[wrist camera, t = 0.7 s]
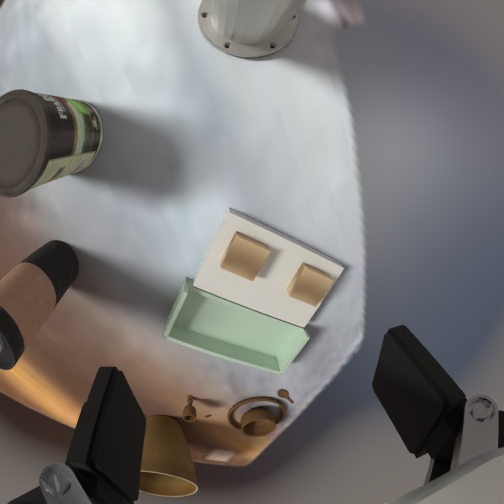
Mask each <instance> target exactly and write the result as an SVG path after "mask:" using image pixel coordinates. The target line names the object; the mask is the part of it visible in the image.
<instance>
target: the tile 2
mask: <svg viewBox="0 0 504 504" xmlns="http://www.w3.org/2000/svg"><path fill="white" fill-rule="evenodd" d="M333 281H334V280H333V279H332V278H331V277H330V275H329V274H327V273H325V272H323V271H321V270H319V269H317V268H315V267H312V266H310V265H308V264H306V263H304V262H303V263H302V264H301V266H300V267H299V269H298V271H297V272H296V274H295V276H294V277H293V279H292V280H291V282H290V284H289V285H288V287H287V288H286V290H287V292H288V294H289V296H290V297H292V298H295V299H297V300H300V301H302V302H305V303H307V304H310V305H312V306H315V307H316V306H317V305H318V303H319V302H320V300H321V299H322V297H323V296H324V294H325V293H326V292H327V290H328V289H329V287H330V285H331V284H332V282H333Z"/></svg>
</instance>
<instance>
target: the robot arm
mask: <svg viewBox="0 0 504 504" xmlns="http://www.w3.org/2000/svg"><path fill="white" fill-rule="evenodd" d="M304 2H305V0H202V2H201V4H200V7H199V10H198V22H199V26H200V30H201V32H202V33H203V35H204V37H205V38H206V39H207V40H208V41H209V43H210V44H212V45H213V46H214V47H216V48H217V49H219V50H221V51H223V52H225V53H227V54H231V55H234V56H239V57H261V56H266V55H269V54H272V53H274V52H276V51H278V50H280V49H281V48H283V47H284V46H285V45H286V44H287V43H288V42H289V41H290V40H291V39H292V37H293V36H294V34H295V32H296V30H297V27H298V12H297V11H298V9H299V8H300V7H301V5H302V4H303V3H304ZM203 16H206V18H203ZM291 18H292V19H291ZM225 46H229V48H225ZM270 46H273V49H272V48H270ZM372 386H373V390H374V392H375V393H376V395H377V397H378V399H379V400H380V402H381V404H382V406H383V407H384V409H385V411H386V412H387V414H388V416H389V418H390V419H391V421H392V423H393V424H394V426H395V428H396V430H397V431H398V433H399V435H400V437H401V438H402V440H403V442H404V444H405V446H406V447H407V449H408V450H409V452H410V453H412V454H413V453H414V455H415V456H416V458H418V457H421V456H423V455H425V454H426V453H428V454H429V455H430V457H431V460H430V464H429V468H428V472H427V475H426V479H425V482H424V485H423V486H421V487H419V488H417V489H415V490H413V491H411V492H409V493H407V494H405V495H403V496H401V497H398V498H396V499H394V500H391V501H389V502H387V503H384V504H504V411H499V410H498V406H497V404H496V402H495V401H494V400H493V399H492V398H490V397H489V396H487V395H484V394H476V395H473V396H471V397H470V398H469V399H468V400H467V399H466V398H465V396H466V395H465V394H464V393H463V391H462V390H461V389H460V388H459V387H458V385H457V384H456V383H455V382H454V381H453V379H452V378H451V377H450V376H449V375H448V374H447V373H446V371H445V370H444V369H443V368H442V366H441V365H440V364H439V363H438V362H437V361H436V360H435V358H434V357H433V356H432V355H431V354H430V353H429V352H428V350H427V349H426V348H425V347H424V346H423V345H422V344H421V343H420V342H419V340H418V339H417V338H416V337H415V336H414V335H413V334H412V333H411V332H410V330H409V329H408V328H407V327H406V326H404V325H401V326H397V327H394V328H390V329H389V330H388V332H387V333H386V334H385V335H384V339H383V344H382V348H381V352H380V356H379V360H378V364H377V368H376V371H375V375H374V379H373V382H372ZM145 430H146V418H145V415H144V414H143V412H142V410H141V408H140V406H139V404H138V402H137V400H136V399H135V397H134V395H133V393H132V391H131V389H130V387H129V385H128V382H127V380H126V378H125V376H124V374H123V372H122V371H118V369H117V368H116V367H100V368H99V369H98V372H97V375H96V377H95V380H94V383H93V385H92V388H91V391H90V394H89V397H88V399H87V402H85V403H84V405H83V407H82V410H81V413H80V416H79V419H78V422H77V425H76V428H75V432H74V435H73V438H72V441H71V445H70V448H69V451H68V455H67V459H66V462H65V465H64V464H61V463H53V464H50V465H48V466H47V467H45V468H44V469H43V470H42V472H41V474H40V477H39V484H40V486H38V487H37V488H35V489H33V490H31V491H29V492H27V493H25V494H24V495H22V496H20V497H18V498H16V499H14V500H12V501H10V502H9V503H8V504H134V501H136V500H137V499H138V494H139V483H140V473H141V463H142V454H143V446H144V438H145Z"/></svg>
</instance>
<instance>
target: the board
mask: <svg viewBox="0 0 504 504" xmlns="http://www.w3.org/2000/svg"><path fill="white" fill-rule="evenodd" d="M236 231H238V232H240V233H242V234H244V235H246V236H248V237H251V238H253V239H255V240H257V241H259V242H261V243H263V244H266V245H268V247H269V249H270V253H269V255H268V257H267V258H266V260H265V262H264V264H263V265H262V267H261V269H260V270H259V272H258V274H257V276H256V277H255V279H254V281H251V280H248V279H246V278H243V277H241V276H239V275H236V274H234V273H231V272H229V271H227V270H224V269H222V268H221V266H220V260H221V259H222V257H223V255H224V253H225V251H226V249H227V247H228V245H229V243H230V241H231V240H232V238H233V236H234V234H235V232H236ZM303 262H304V263H306V264H308V265H310V266H312V267H315V268H317V269H319V270H321V271H323V272H325V273H327V274H329V275H330V277H331V278H332V279H333V280H334V281H333V282H332V284H331V285H330V287H329V289H328V290H327V292H326V293H325V294H324V296H323V297H322V299H321V300H320V302H319V303H318V305H317V306H316V307H315V306H312V305H310V304H307V303H305V302H302V301H300V300H297V299H295V298H292V297H290V296H289V294H288V292H287V290H286V288H287V287H288V285H289V284H290V282H291V280H292V279H293V277H294V276H295V274H296V272H297V271H298V269H299V267H300V266H301V264H302V263H303ZM343 270H344V268H343V266H342V265H341V264H340V263H339V262H338V261H336V260H334V259H332V258H330V257H328V256H326V255H325V254H323V253H321V252H319V251H317V250H315V249H313V248H311V247H309V246H307V245H305V244H303V243H301V242H299V241H297V240H295V239H293V238H291V237H289V236H287V235H285V234H283V233H280V232H278V231H276V230H274V229H272V228H270V227H268V226H266V225H264V224H262V223H260V222H258V221H256V220H254V219H252V218H250V217H248V216H245V215H243V214H241V213H239V212H237V211H235V210H233V209H231V208H228V210H227V212H226V214H225V216H224V218H223V220H222V222H221V224H220V226H219V227H218V229H217V231H216V233H215V235H214V237H213V239H212V241H211V243H210V245H209V247H208V249H207V251H206V253H205V255H204V257H203V259H202V261H201V264H200V266H199V268H198V270H197V272H196V274H195V276H194V280H193V286H195V287H197V288H200V289H202V290H205V291H207V292H210V293H212V294H215V295H217V296H220V297H222V298H225V299H227V300H230V301H233V302H235V303H238V304H240V305H243V306H246V307H248V308H251V309H254V310H256V311H259V312H262V313H264V314H267V315H270V316H273V317H275V318H278V319H281V320H284V321H286V322H289V323H292V324H295V325H298V326H301V327H305V326H306V324H307V323H308V321H309V320H310V319H311V317H312V316H313V314H314V313H315V311H316V310H317V309H318V307H319V306H320V304H321V303H322V301H323V300H324V298H325V297H326V295H327V294H328V292H329V291H330V289H331V288H332V286H333V285H334V283H335V282H336V280H337V279H338V277H339V276H340V274H341V273H342V271H343Z"/></svg>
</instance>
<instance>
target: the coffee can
mask: <svg viewBox="0 0 504 504" xmlns="http://www.w3.org/2000/svg"><path fill="white" fill-rule="evenodd" d="M102 139H103V125H102V121H101V118H100V116H99V114H98V112H97V111H96V109H95V108H94V107H93V106H92V105H90V104H89V103H88V102H85V101H82V100H74V99H68V98H63V97H57V96H52V95H46V94H40V93H33V92H30V91H27V90H13V91H10V92H8V93H6V94H4V95H2V96H1V97H0V196H2V197H8V198H10V197H16V196H19V195H21V194H23V193H24V192H26V191H28V190H30V189H32V188H35V187H37V186H40V185H42V184H45V183H48V182H50V181H53V180H56V179H58V178H61V177H64V176H67V175H70V174H74V173H78V172H80V171H82V170H84V169H85V168H86V167H88V166H89V165H90V164H91V163H92V161H93V160H94V159H95V157H96V156H97V154H98V152H99V150H100V147H101V144H102Z"/></svg>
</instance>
